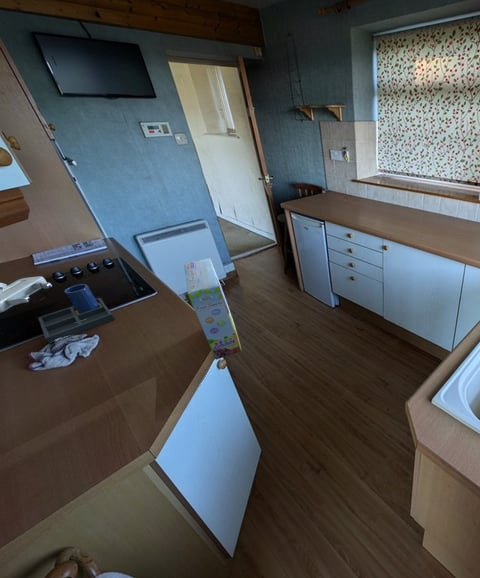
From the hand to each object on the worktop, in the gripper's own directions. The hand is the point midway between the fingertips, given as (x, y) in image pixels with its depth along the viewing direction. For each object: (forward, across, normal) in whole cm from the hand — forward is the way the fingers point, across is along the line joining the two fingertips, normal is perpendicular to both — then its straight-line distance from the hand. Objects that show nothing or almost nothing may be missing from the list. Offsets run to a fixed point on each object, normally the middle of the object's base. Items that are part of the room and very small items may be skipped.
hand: (39, 292), depth 106 cm
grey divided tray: (+11, +6, -10) cm, 16 cm away
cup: (+12, 0, -10) cm, 15 cm away
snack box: (+67, +23, -11) cm, 72 cm away
